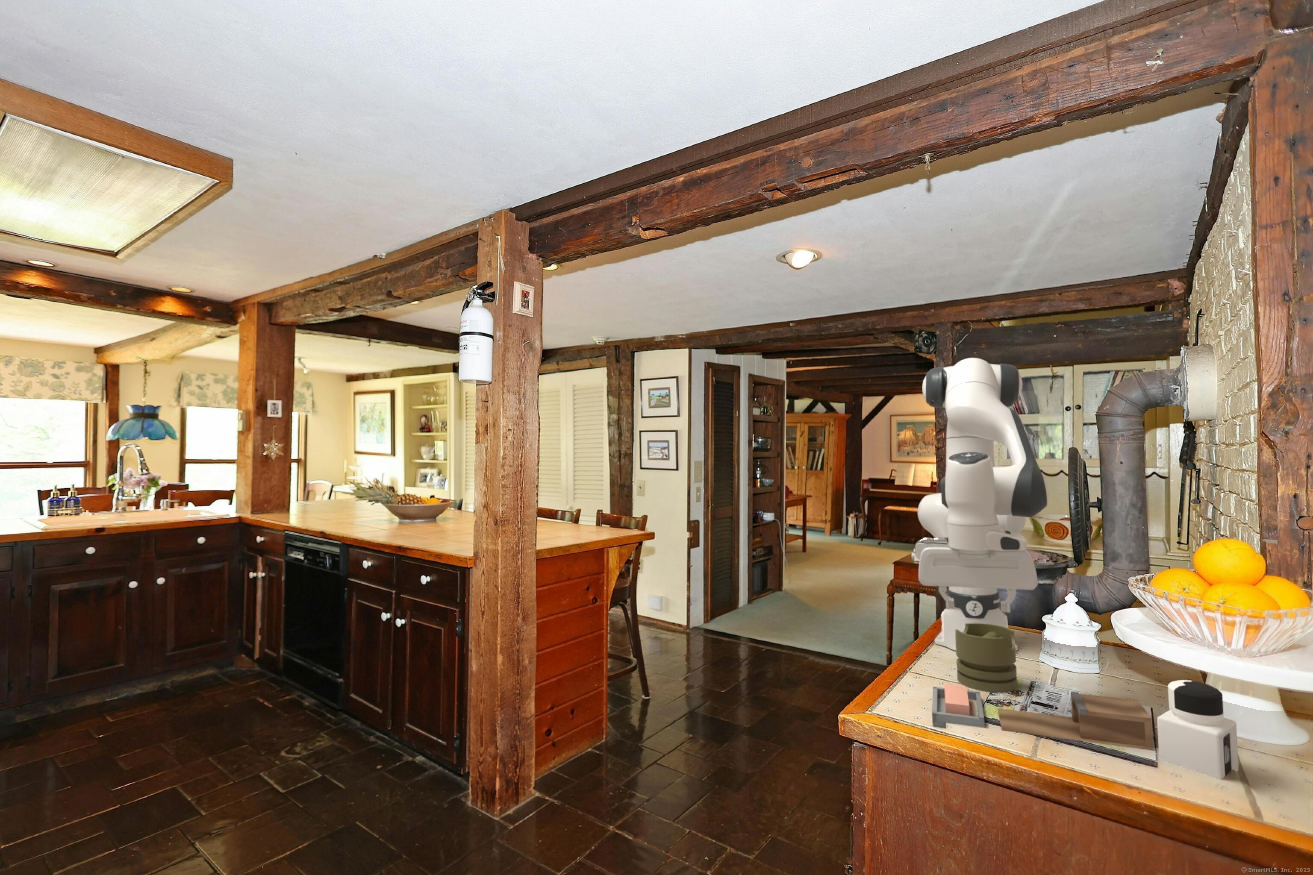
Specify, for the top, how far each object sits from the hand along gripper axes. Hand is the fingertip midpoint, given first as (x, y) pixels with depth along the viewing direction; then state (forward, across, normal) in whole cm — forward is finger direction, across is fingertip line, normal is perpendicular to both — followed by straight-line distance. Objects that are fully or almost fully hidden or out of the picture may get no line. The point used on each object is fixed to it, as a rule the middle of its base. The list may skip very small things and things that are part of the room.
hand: (977, 610), depth 120 cm
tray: (+20, -4, -1) cm, 21 cm away
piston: (+21, +1, +16) cm, 26 cm away
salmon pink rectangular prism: (+20, -5, -1) cm, 20 cm away
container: (+20, +30, -10) cm, 37 cm away
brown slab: (+20, +14, -3) cm, 24 cm away
